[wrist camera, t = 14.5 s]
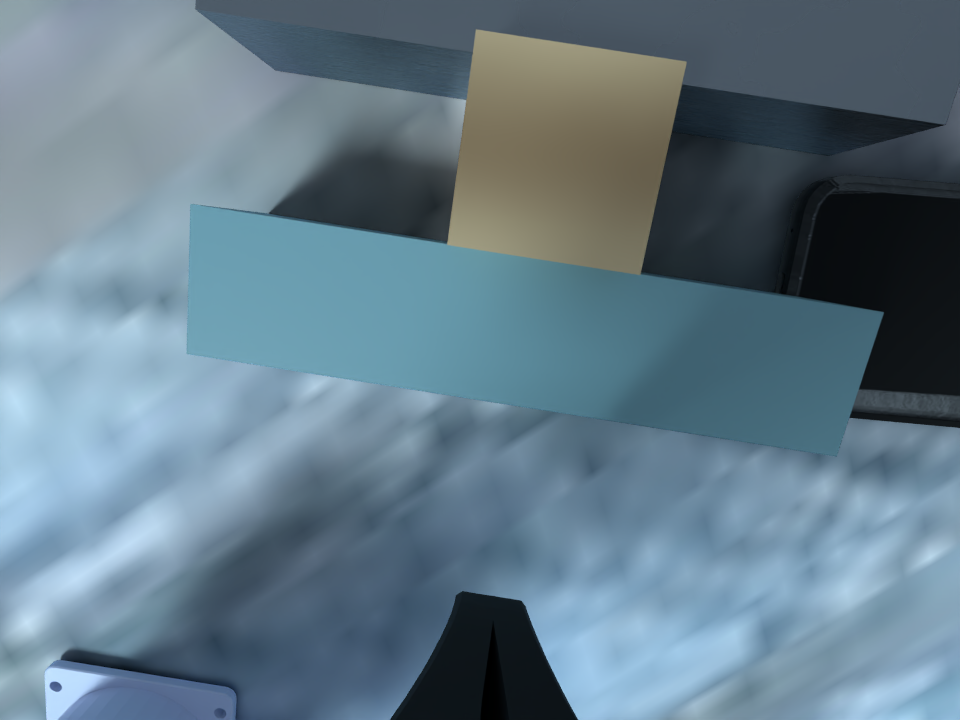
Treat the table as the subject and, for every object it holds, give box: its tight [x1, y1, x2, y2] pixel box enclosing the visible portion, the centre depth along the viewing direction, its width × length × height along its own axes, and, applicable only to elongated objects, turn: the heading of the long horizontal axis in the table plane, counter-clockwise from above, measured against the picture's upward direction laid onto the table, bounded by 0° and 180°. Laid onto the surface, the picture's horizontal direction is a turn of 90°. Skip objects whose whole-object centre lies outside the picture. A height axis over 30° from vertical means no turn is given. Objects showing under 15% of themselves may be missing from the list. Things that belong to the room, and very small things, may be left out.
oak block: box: [447, 29, 687, 275], centre depth 14 cm, size 4×4×6 cm
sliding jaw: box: [187, 204, 884, 457], centre depth 16 cm, size 4×18×4 cm, turn 81°
